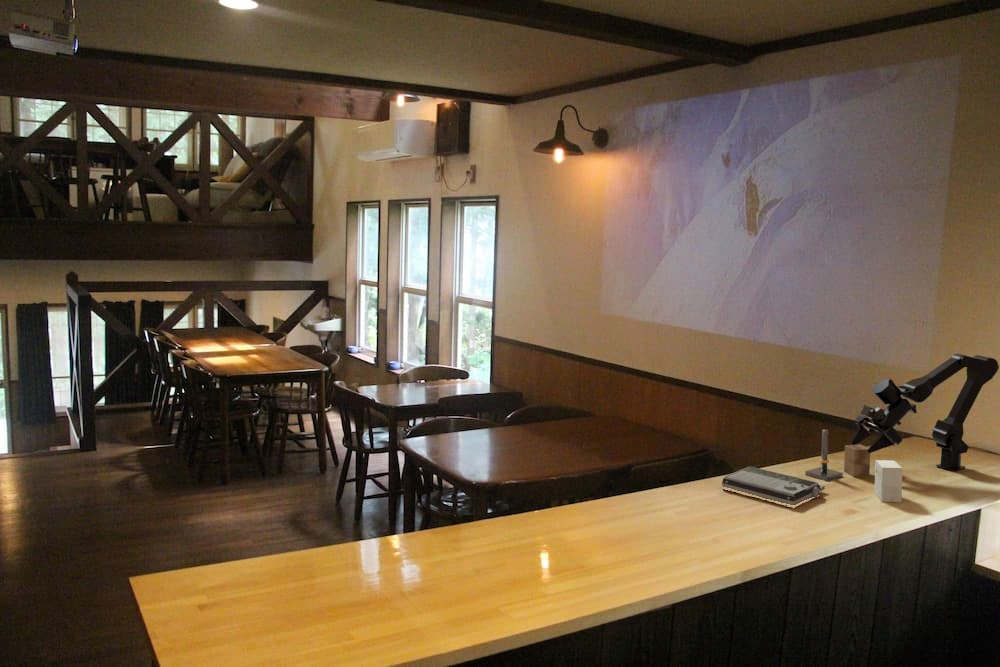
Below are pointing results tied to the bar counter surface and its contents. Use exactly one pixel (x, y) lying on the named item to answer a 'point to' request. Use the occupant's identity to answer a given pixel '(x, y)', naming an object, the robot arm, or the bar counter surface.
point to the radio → (772, 485)
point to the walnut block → (857, 460)
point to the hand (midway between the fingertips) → (860, 448)
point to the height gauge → (824, 463)
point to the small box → (888, 481)
